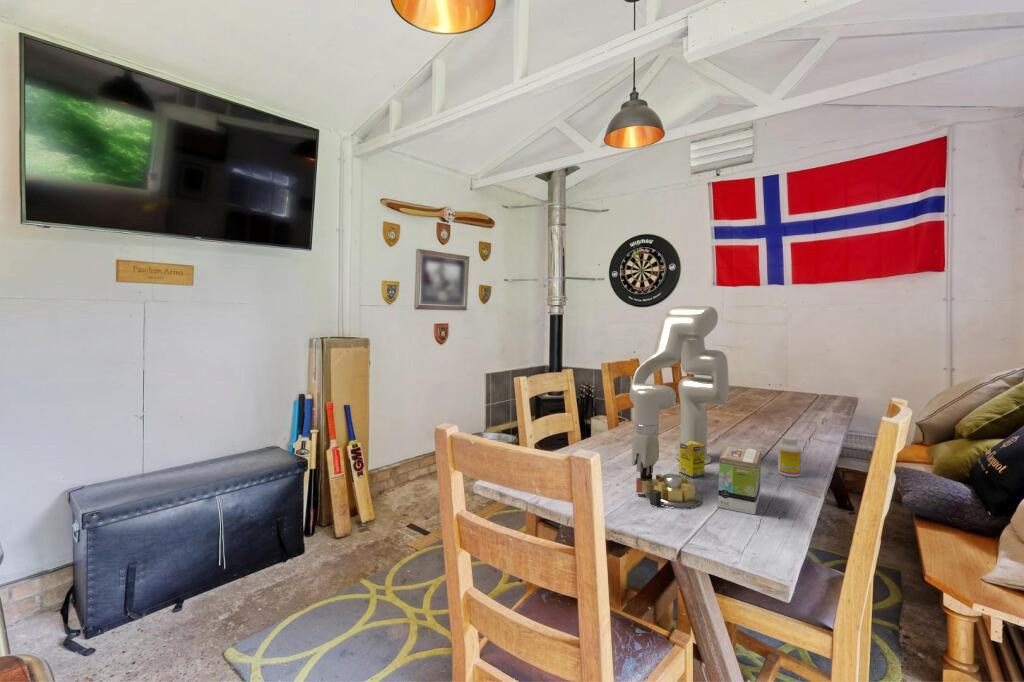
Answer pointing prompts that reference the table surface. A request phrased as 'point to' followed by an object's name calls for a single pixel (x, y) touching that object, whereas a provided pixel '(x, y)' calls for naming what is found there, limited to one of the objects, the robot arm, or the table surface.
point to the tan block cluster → (667, 488)
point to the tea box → (739, 479)
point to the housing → (656, 500)
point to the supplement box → (692, 459)
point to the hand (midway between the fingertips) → (646, 486)
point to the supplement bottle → (789, 457)
